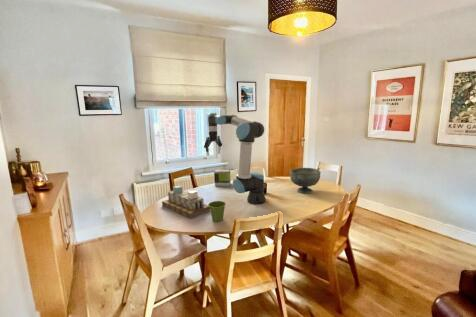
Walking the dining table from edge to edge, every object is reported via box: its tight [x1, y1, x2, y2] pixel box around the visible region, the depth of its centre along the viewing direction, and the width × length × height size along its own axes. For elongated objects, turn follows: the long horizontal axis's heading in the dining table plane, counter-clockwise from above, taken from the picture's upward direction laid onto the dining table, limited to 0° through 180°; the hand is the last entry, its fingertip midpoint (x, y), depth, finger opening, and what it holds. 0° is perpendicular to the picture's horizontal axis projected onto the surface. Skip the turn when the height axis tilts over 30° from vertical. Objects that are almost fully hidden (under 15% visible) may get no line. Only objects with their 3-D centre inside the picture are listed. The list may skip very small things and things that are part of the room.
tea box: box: [213, 169, 231, 187], centre depth 249 cm, size 15×10×15 cm, turn 84°
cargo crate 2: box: [187, 189, 198, 199], centre depth 180 cm, size 5×5×4 cm
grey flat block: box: [161, 198, 211, 220], centre depth 189 cm, size 36×18×4 cm, turn 48°
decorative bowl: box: [289, 167, 321, 195], centre depth 224 cm, size 26×26×20 cm
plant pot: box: [207, 200, 227, 222], centre depth 168 cm, size 12×12×11 cm
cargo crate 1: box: [172, 185, 183, 194], centre depth 193 cm, size 5×5×4 cm
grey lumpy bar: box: [167, 190, 205, 211], centre depth 188 cm, size 32×9×7 cm, turn 48°
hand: (213, 154), depth 223 cm, fingers open, 13 cm apart
